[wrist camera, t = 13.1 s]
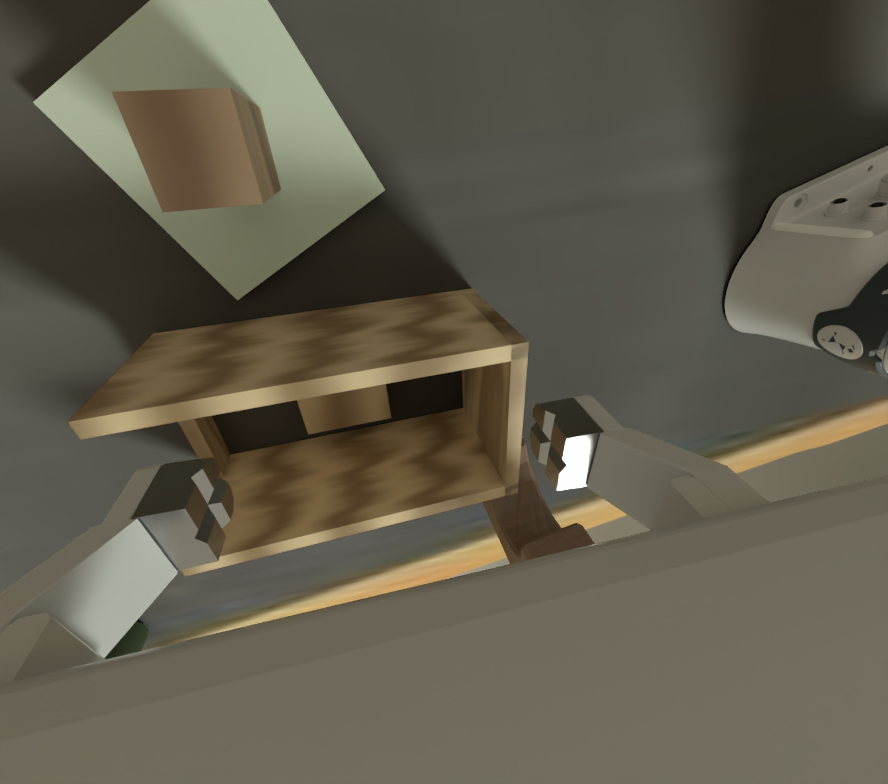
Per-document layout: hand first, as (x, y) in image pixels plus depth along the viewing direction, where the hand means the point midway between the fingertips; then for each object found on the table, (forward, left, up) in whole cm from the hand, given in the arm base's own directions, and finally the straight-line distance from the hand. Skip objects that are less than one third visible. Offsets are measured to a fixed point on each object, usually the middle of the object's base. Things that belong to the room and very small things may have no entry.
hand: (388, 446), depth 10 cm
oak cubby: (+8, +9, -25) cm, 28 cm away
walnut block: (+2, -9, -24) cm, 25 cm away
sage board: (+2, -9, -25) cm, 26 cm away
